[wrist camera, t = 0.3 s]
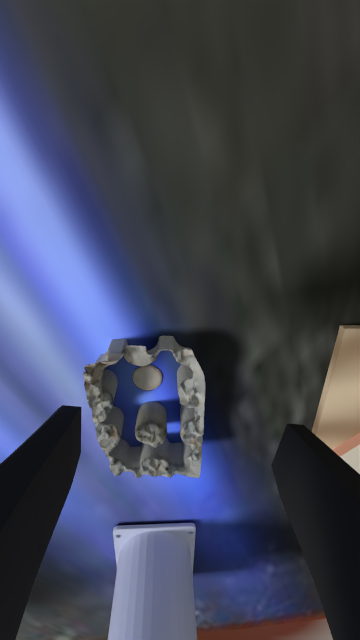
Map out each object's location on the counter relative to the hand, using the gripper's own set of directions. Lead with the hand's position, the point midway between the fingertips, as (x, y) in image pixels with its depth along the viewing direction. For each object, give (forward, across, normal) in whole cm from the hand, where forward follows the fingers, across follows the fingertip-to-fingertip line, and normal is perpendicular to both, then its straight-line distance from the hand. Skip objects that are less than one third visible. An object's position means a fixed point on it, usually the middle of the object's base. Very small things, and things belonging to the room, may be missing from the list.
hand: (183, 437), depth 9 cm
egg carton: (+10, +1, +6) cm, 12 cm away
